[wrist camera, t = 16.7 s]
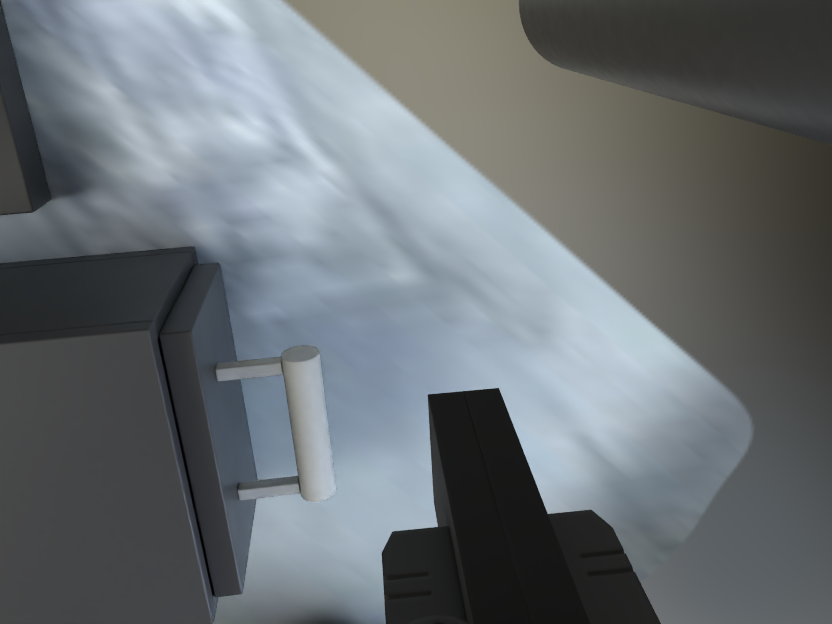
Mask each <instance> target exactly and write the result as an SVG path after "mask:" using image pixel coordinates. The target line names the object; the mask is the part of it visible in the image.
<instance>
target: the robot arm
mask: <svg viewBox="0 0 832 624" xmlns="http://www.w3.org/2000/svg"><path fill="white" fill-rule="evenodd" d="M428 407H429V424H430V441H431V458H432V476H433V493H434V505H435V511H436V517H437V523H438V527H434V528H424V529H414V530H404V531H394V532H392V534H391V536H390V538H389V540H388V542H387V544H386V546H385V548H384V550H383V552H382V565H383V580H384V581H383V582H384V598H385V616H386V624H661V623H660V621H659V619H658V617H657V615H656V613H655V611H654V609H653V608H652V605H651V603H650V601H649V599H648V597H647V595H646V593H645V591H644V589H643V587H642V585H641V583H640V581H639V579H638V577H637V575H636V573H635V572H633V568H632V565H631V563H630V561H629V559H628V557H627V555H626V554H624V550H623V548H622V546H621V544H620V542H619V540H618V538H617V536H616V534H615V532H614V530H613V528H612V527H611V526H610V525H609V524H608V523H606V522H605V521H604V520H603V519H602V518H601V517H599V516H598V515H597V514H596V513H595V512H593V511H592V510H584V511H574V512H564V513H554V514H547V511H546V509H545V506H544V503H543V501H542V498H541V496H540V493H539V491H538V488H537V485H536V483H535V480H534V478H533V475H532V473H531V470H530V467H529V465H528V462H527V460H526V457H525V455H524V452H523V449H522V447H521V444H520V442H519V439H518V436H517V434H516V431H515V429H514V426H513V424H512V421H511V418H510V416H509V413H508V411H507V408H506V406H505V403H504V400H503V398H502V395H501V393H500V390H499V388H495V389H484V390H473V391H462V392H451V393H440V394H429V395H428Z"/></svg>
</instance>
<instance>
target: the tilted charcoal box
mask: <svg viewBox="0 0 832 624" xmlns="http://www.w3.org/2000/svg"><path fill="white" fill-rule="evenodd" d="M194 265H198V263H197V257H196V252H195V247H184V248H173V249H161V250H150V251H139V252H127V253H116V254H105V255H94V256H82V257H71V258H60V259H48V260H37V261H26V262H15V263H3V264H0V624H213V622H214V616H215V611H216V607H217V602H218V597H215V596H214V592H213V587H212V583H211V578H210V573H209V569H208V564H207V559H206V555H205V550H204V545H203V541H202V536H201V531H200V527H199V522H198V519H197V522H196V518H195V513H194V508H193V504H192V499H191V494H190V490H189V485H188V480H187V476H186V471H185V466H184V462H183V457H182V453H181V448H180V443H179V439H178V434H177V429H176V425H175V420H174V415H173V411H172V406H171V401H170V397H169V392H168V388H167V383H166V378H165V374H164V369H163V364H162V360H161V355H160V350H159V346H158V341H157V339H158V338H159V332H160V331H161V329H162V327H163V325H164V323H165V321H166V319H167V317H168V315H169V313H170V311H171V309H172V307H173V305H174V303H175V302H176V300H177V298H178V296H179V294H180V292H181V290H182V288H183V286H184V284H185V282H186V280H187V278H188V276H189V274H190V272H191V271H192V269H193V267H194Z"/></svg>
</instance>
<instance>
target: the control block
mask: <svg viewBox="0 0 832 624" xmlns="http://www.w3.org/2000/svg"><path fill="white" fill-rule="evenodd" d="M50 200H51V197H50V193H49V189H48V185H47V181H46V177H45V173H44V169H43V166H42V162H41V158H40V154H39V150H38V146H37V142H36V138H35V134H34V130H33V126H32V123H31V119H30V115H29V111H28V107H27V103H26V99H25V95H24V91H23V87H22V83H21V80H20V76H19V72H18V68H17V64H16V60H15V56H14V52H13V48H12V44H11V40H10V37H9V33H8V29H7V25H6V21H5V17H4V13H3V9H2V5H1V1H0V215H8V214H20V213H32V212H34V211H36V210H37V209H39V208H40V207H42V206H43V205H44V204H46V203H47V202H49V201H50Z"/></svg>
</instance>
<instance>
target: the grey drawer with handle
mask: <svg viewBox="0 0 832 624" xmlns="http://www.w3.org/2000/svg"><path fill="white" fill-rule="evenodd" d="M157 341H158V346H159V350H160V355H161V360H162V364H163V369H164V374H165V378H166V383H167V388H168V392H169V397H170V401H171V406H172V411H173V415H174V420H175V425H176V429H177V434H178V439H179V443H180V448H181V453H182V457H183V462H184V466H185V471H186V476H187V480H188V485H189V490H190V494H191V499H192V504H193V508H194V513H195V518H196V522H197V519H198V522H199V527H200V531H201V536H202V541H203V545H204V550H205V555H206V559H207V564H208V569H209V573H210V578H211V583H212V587H213V592H214V596H215V597H222V596H230V595H238V594H242V592H243V586H244V579H245V573H246V566H247V559H248V552H249V546H250V539H251V532H252V526H253V519H254V512H255V505H256V499H257V498H265V497H274V496H283V495H292V494H299V493H300V491H301V496H302V497H303V499H305V500H306V501H309V502H322V501H325V500H328V499H329V498H331V497H332V496H333V495H334V494H335V492H336V482H335V474H334V466H333V458H332V450H331V442H330V434H329V426H328V417H327V409H326V401H325V393H324V385H323V377H322V369H321V360H320V352H319V350H318V349H317V348H316V347H314V346H309V345H301V346H295V347H291V348H289V349H287V350H285V351H284V352H283V353H282V355H281V357H274V358H264V359H254V360H244V361H237V358H236V352H235V347H234V341H233V335H232V329H231V323H230V317H229V312H228V306H227V300H226V294H225V288H224V282H223V277H222V271H221V265H220V263H211V264H200V265H194V267H193V269H192V271H191V272H190V274H189V276H188V278H187V280H186V282H185V284H184V286H183V288H182V290H181V292H180V294H179V296H178V298H177V300H176V302H175V303H174V305H173V307H172V309H171V311H170V313H169V315H168V317H167V319H166V321H165V323H164V325H163V327H162V329H161V331H160V332H159V338H158V339H157ZM282 374H283V375H284V381H285V388H286V395H287V402H288V409H289V416H290V423H291V429H292V436H293V443H294V450H295V457H296V464H297V471H298V476H293V477H284V478H276V479H267V480H257V475H256V469H255V463H254V457H253V451H252V446H251V440H250V434H249V428H248V422H247V416H246V411H245V405H244V399H243V393H242V387H241V381H240V379H246V378H256V377H266V376H276V375H282Z"/></svg>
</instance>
